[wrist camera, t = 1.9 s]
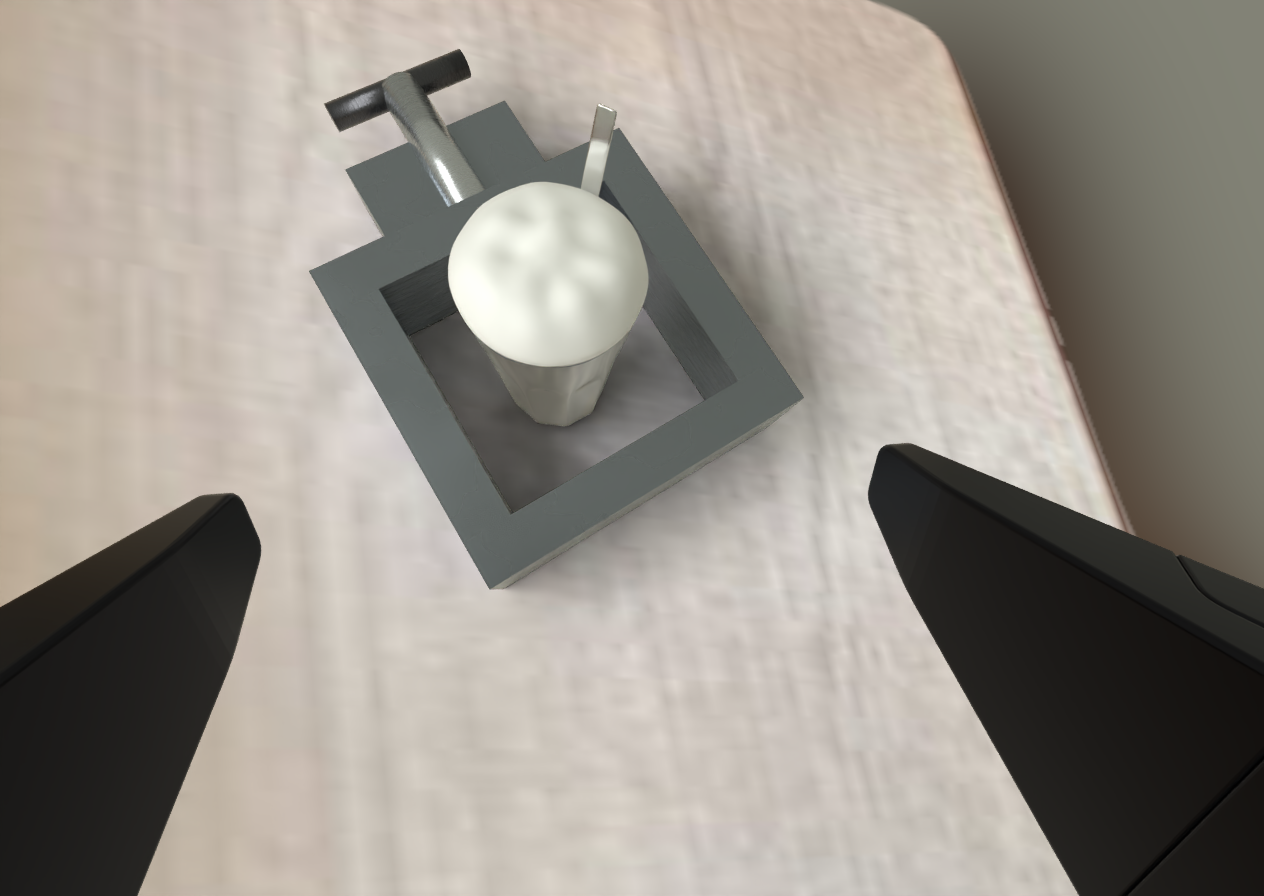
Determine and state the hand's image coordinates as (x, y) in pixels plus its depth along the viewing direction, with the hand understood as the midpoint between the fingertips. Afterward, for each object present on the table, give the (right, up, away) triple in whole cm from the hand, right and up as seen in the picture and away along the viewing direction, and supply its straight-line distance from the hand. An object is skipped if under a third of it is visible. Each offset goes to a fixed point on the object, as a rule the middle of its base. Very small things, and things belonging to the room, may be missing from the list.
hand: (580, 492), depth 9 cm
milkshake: (-2, +3, +13) cm, 14 cm away
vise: (-3, +6, +14) cm, 15 cm away
